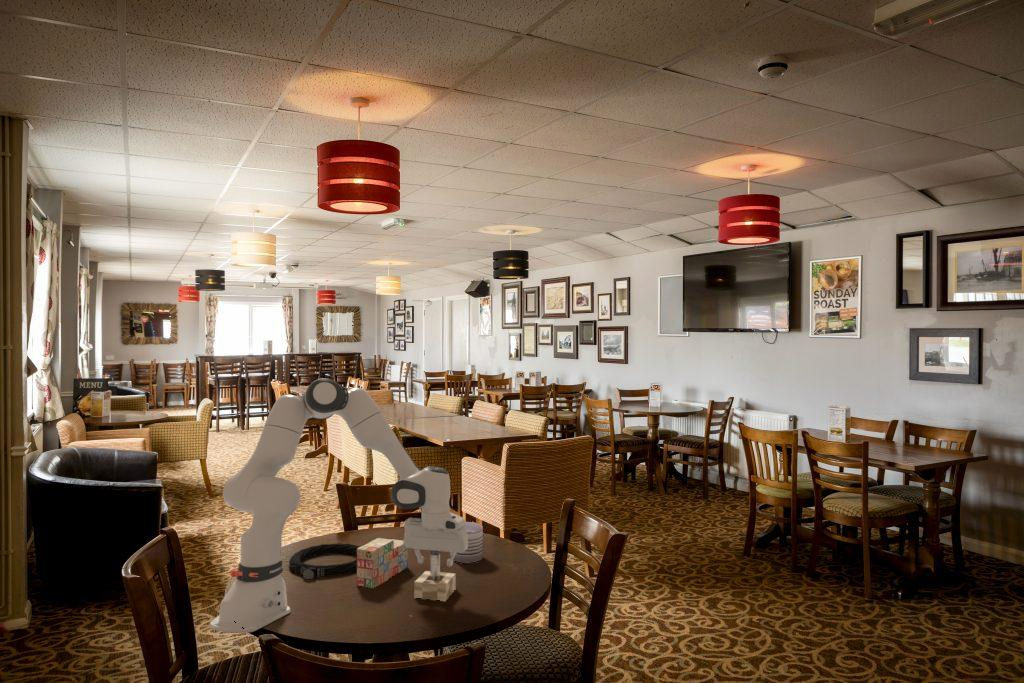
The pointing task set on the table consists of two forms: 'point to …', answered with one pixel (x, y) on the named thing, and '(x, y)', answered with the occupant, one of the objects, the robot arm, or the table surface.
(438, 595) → the light wooden square frame
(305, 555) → the cable lock
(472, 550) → the can
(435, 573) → the silver metal rod
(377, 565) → the stack of blocks
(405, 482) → the robot arm
